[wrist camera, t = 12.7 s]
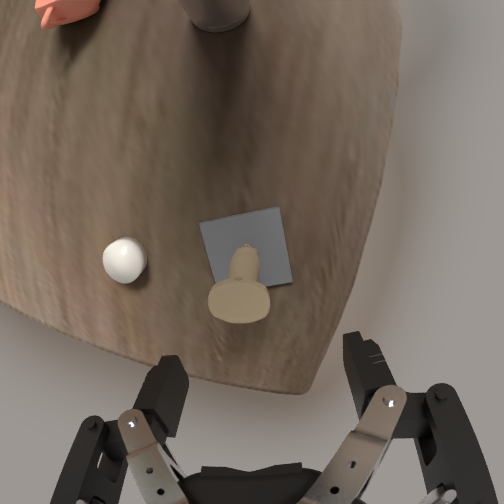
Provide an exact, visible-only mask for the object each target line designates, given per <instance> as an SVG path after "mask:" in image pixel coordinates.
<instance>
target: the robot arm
mask: <svg viewBox="0 0 504 504" xmlns="http://www.w3.org/2000/svg"><path fill="white" fill-rule="evenodd" d="M179 2H180V3H181V5H182V6H183V8H184V9H185V11H186V13H187V14H188V16H189V17H190V19H191V20H192V22H193V23H194V24H195V26H196V27H198V28H200V29H201V30H204V31H207V32H224V31H228V30H231V29H233V28H235V27H237V26H239V25H240V24H242V23H243V22H244V21H245V19H246V18H247V16H248V15H249V11H250V3H249V0H179ZM343 361H344V367H345V371H346V375H347V378H348V382H349V385H350V389H351V392H352V395H353V400H354V403H355V407H356V411H357V414H358V418H359V423H358V425H357V427H356V428H355V430H354V431H351V432H350V433H349V434H348V435H347V437H346V438H345V440H344V441H343V443H342V445H341V446H340V448H339V449H338V451H337V452H336V454H335V455H334V457H333V458H332V460H331V461H330V462H329V464H328V465H327V467H326V468H325V470H324V471H323V472H320V471H317V470H313V469H307V468H302V463H301V462H300V463H292V464H283V465H274V466H271V467H268V468H264V469H260V470H256V471H252V472H247V471H241V470H236V469H232V468H227V467H207V466H202V468H201V472H200V473H196V474H193V475H190V476H187V475H186V474H185V473H184V471H183V470H182V469H181V467H180V465H179V464H178V462H177V460H176V459H175V457H174V456H173V454H172V452H171V450H170V449H169V447H168V445H167V443H166V442H165V441H166V438H167V437H174V438H175V436H176V432H177V428H178V425H179V421H180V417H181V414H182V410H183V406H184V402H185V398H186V395H187V392H188V388H189V379H188V375H187V373H186V371H185V369H184V367H183V365H182V363H181V361H180V359H179V357H178V356H177V355H168V356H162V357H161V359H160V361H159V364H158V366H154V367H153V368H152V369H151V370H150V371H149V372H148V373H147V376H146V378H145V382H144V383H143V385H142V388H141V390H140V392H139V394H138V397H137V399H136V401H135V404H134V406H133V408H132V409H130V410H127V411H125V412H124V413H122V414H121V415H120V417H119V419H118V420H114V421H107V422H104V421H103V419H101V417H99V416H90V417H88V418H86V419H85V420H84V421H83V422H82V424H81V426H80V429H79V431H78V433H77V435H76V438H75V440H74V442H73V445H72V447H71V449H70V452H69V454H68V457H67V459H66V462H65V464H64V467H63V469H62V472H61V474H60V477H59V480H58V482H57V485H56V488H55V491H54V494H53V496H52V499H51V502H50V504H118V503H119V499H120V495H121V490H122V487H123V483H124V479H125V475H126V471H127V467H128V464H129V467H130V469H131V471H132V474H133V476H134V479H135V481H136V483H137V485H138V487H139V489H140V492H141V494H142V496H143V498H144V500H145V502H146V504H366V503H365V502H363V501H362V500H361V497H362V495H363V494H364V492H365V491H366V489H367V487H368V485H369V484H370V482H371V481H372V479H373V477H374V475H375V473H376V471H377V469H378V467H379V466H380V464H381V462H382V460H383V458H384V456H385V454H386V452H387V450H388V448H389V446H390V444H391V442H392V440H393V438H414V442H415V446H416V449H417V453H418V456H419V460H420V465H421V468H422V473H423V477H424V481H425V485H426V490H427V496H426V497H425V498H424V499H423V500H422V501H421V502H420V503H419V504H498V500H497V497H496V494H495V490H494V486H493V483H492V480H491V477H490V473H489V470H488V468H487V465H486V462H485V459H484V456H483V453H482V451H481V448H480V445H479V443H478V441H477V438H476V435H475V433H474V431H473V428H472V426H471V423H470V421H469V419H468V416H467V414H466V412H465V410H464V408H463V406H462V403H461V401H460V399H459V397H458V395H457V393H456V391H455V389H454V388H453V387H452V386H450V385H448V384H445V383H439V384H435V385H433V386H431V387H430V388H429V389H428V391H427V392H426V393H409V392H405V391H404V390H403V389H402V388H401V387H398V386H397V385H396V383H395V381H394V378H393V376H392V374H391V371H390V369H389V368H388V365H387V363H386V361H385V358H384V356H383V355H382V352H381V350H380V347H379V345H378V344H376V343H375V342H374V341H372V340H371V339H369V340H365V341H363V339H362V337H361V334H360V332H359V331H356V332H351V333H346V334H343ZM101 452H102V453H103V455H102V458H101V461H100V464H99V467H98V468H97V464H98V461H99V458H100V455H101Z"/></svg>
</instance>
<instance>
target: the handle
mask: <svg viewBox="0 0 504 504" xmlns="http://www.w3.org/2000/svg"><path fill="white" fill-rule="evenodd" d="M257 253H258V251H257V249H256V248H253V247H251V246H250V245H249V244H244V246H243V247H241V248H238V249H237V250H236V252H235V254H234V256H233V257H232V260H231V263H230V267H229V275H228V279H226V280H223V281H221V282H218V283H216V284H214V285H213V287H212V288H211V290H210V293H209V296H208V306H209V309H210V312H211V313H212V314H213V316H214V317H217V318H219V319H221V320H224V321H226V322H230V323H251V322H254V321H257V320H260V319H262V318H265V316H266V315H267V314H268V312H269V309H270V296H269V292H268V290H267V288H266V287H265V285H263V284H261V283H259V282H257V281H258V276H259V271H260V261H259V256H258V254H257Z"/></svg>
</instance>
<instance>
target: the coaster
mask: <svg viewBox="0 0 504 504" xmlns="http://www.w3.org/2000/svg"><path fill="white" fill-rule="evenodd" d="M199 226H200V229H201V233H202V237H203V240H204V244H205V248H206V251H207V255H208V258H209V262H210V266H211V269H212V273H213V276H214V280H215V283H218V282H221V281H223V280H226V279H228V275H229V267H230V263H231V260H232V257H233V256H234V254H235V252H236V250H237V249H238V248H241V247H243V246H244V244H249V245H250V246H251V247H253V248H256V249H257V251H258V253H257V254H258V256H259V261H260V271H259V276H258V281H257V282H259V283H261V284H263V285H265V287H267V286H273V285H278V284H284V283H290V282H293V281H292V275H291V269H290V264H289V258H288V252H287V247H286V241H285V236H284V230H283V225H282V220H281V215H280V209H279V206H277V207H272V208H266V209H261V210H256V211H251V212H246V213H241V214H236V215H231V216H226V217H222V218H217V219H212V220H207V221H203V222H200V223H199Z"/></svg>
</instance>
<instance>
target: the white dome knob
mask: <svg viewBox="0 0 504 504" xmlns="http://www.w3.org/2000/svg"><path fill="white" fill-rule="evenodd" d="M147 260H148V259H147V253H146V250H145V248H144V247H143V245H142V244H141V243H140V242H139V241H138V240H136V239H134V238H132V237H121V238H119V239H118V240H116V241H115V242H113V243H112V244H111V245H109V246H108V247H107V248H106V249H105V251H104V254H103V264H104V267H105V270H106V272H107V273H108V274H109V276H110V277H111V278H113V279H114V280H115V281H117V282H120V283H131V282H133V281H134V280H135V279H136V278H137V277H138V276H139V275H140V274H141V273H142V272H143V271H144V269H145V268H146V265H147Z"/></svg>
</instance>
